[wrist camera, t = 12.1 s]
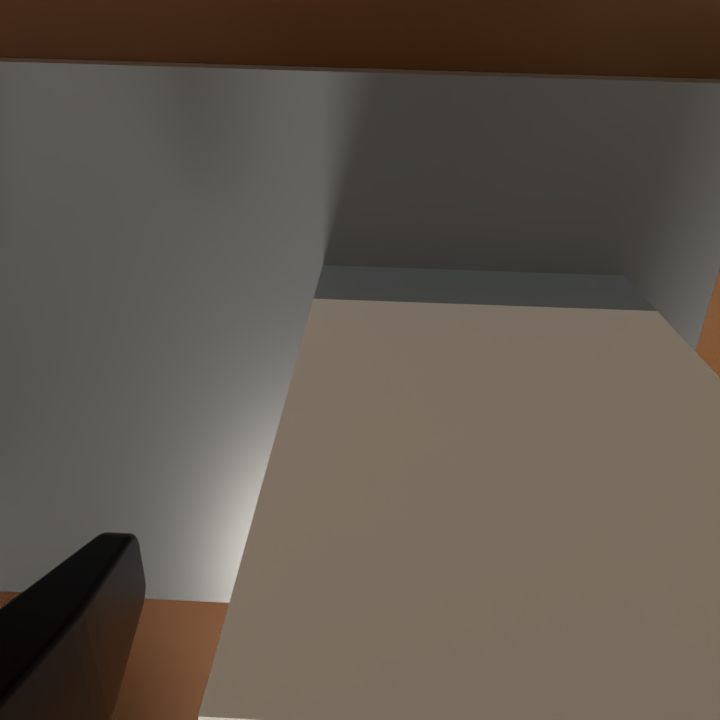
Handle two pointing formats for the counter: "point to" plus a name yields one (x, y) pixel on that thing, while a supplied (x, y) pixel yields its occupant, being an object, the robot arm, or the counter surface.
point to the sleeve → (482, 510)
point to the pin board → (282, 260)
